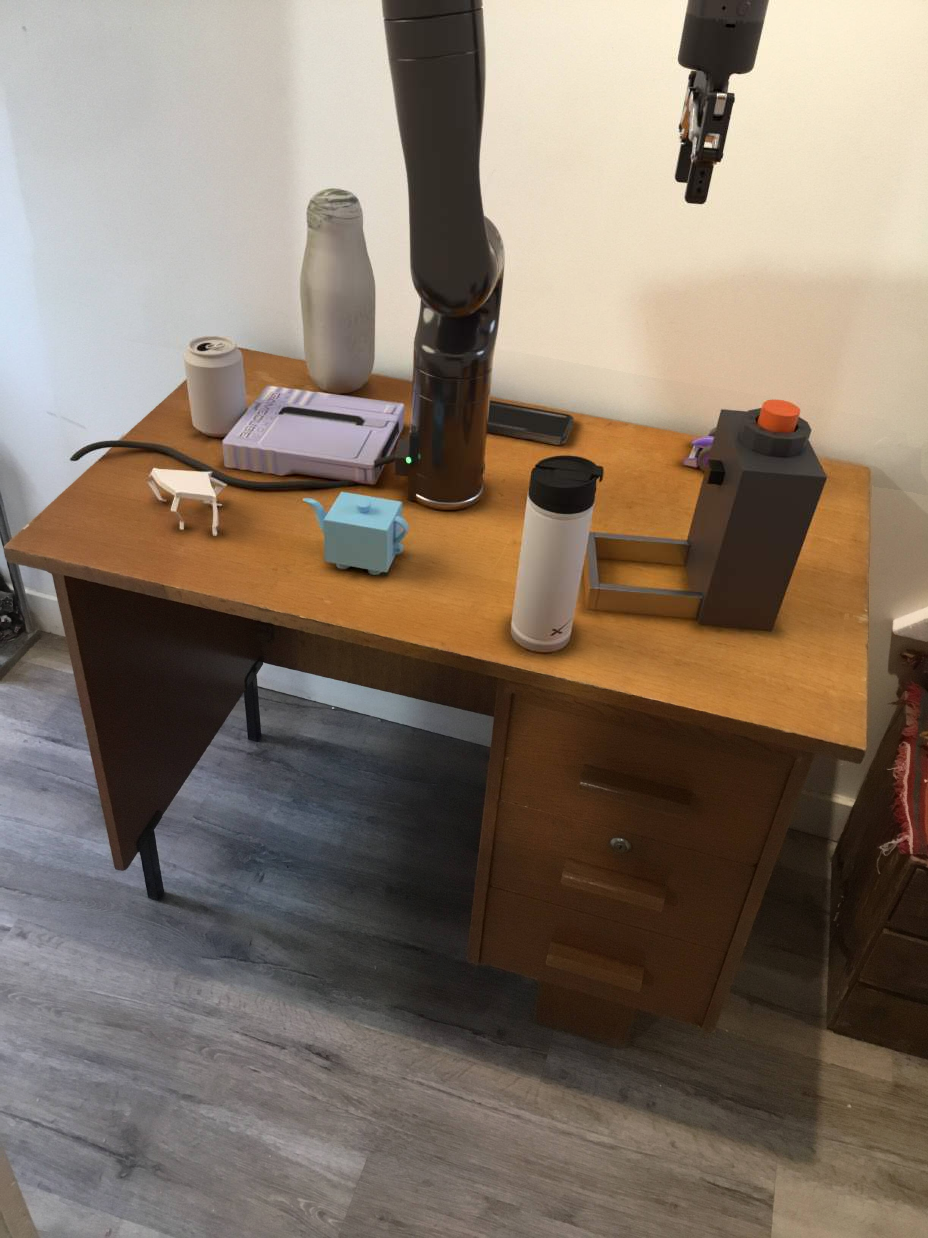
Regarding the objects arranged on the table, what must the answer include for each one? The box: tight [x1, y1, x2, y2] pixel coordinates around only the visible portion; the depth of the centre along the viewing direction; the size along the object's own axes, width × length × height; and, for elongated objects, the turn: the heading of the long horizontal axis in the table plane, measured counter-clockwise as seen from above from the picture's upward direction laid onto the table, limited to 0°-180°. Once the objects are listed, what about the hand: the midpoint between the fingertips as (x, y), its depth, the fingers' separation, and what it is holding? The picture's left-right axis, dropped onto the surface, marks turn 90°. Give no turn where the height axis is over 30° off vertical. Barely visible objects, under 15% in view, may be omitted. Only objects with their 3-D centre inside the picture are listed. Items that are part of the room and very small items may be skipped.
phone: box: [487, 399, 574, 446], centre depth 131 cm, size 8×1×15 cm
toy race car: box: [682, 426, 717, 472], centre depth 124 cm, size 10×15×6 cm, turn 68°
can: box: [183, 334, 248, 438], centre depth 122 cm, size 8×8×12 cm
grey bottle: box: [299, 188, 377, 395], centre depth 128 cm, size 10×10×28 cm
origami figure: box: [146, 467, 228, 537], centre depth 107 cm, size 12×8×5 cm
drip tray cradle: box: [582, 459, 725, 620], centre depth 98 cm, size 12×11×16 cm
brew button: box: [757, 399, 801, 433], centre depth 89 cm, size 4×4×2 cm
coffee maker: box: [684, 407, 828, 632], centre depth 96 cm, size 8×13×21 cm, turn 177°
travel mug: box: [510, 454, 604, 653], centre depth 89 cm, size 6×7×20 cm
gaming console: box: [221, 385, 405, 486], centre depth 122 cm, size 18×4×20 cm
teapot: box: [302, 491, 409, 576], centre depth 101 cm, size 12×6×8 cm, turn 78°
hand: (689, 191), depth 98 cm, fingers open, 8 cm apart
